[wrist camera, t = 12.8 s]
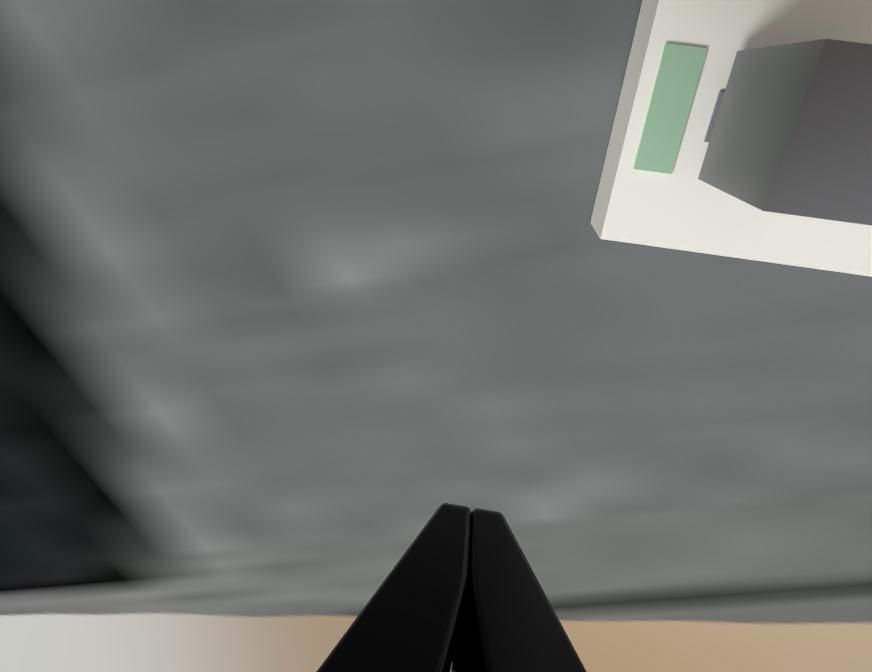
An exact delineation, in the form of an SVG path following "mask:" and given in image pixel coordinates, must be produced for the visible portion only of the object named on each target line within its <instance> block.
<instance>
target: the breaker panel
mask: <svg viewBox="0 0 872 672" xmlns="http://www.w3.org/2000/svg"><path fill="white" fill-rule="evenodd" d="M821 39H832V40H841V41H849V42H858V43H866V44H872V0H642V5H641V9H640V13H639V17H638V22H637V26H636V30H635V34H634V39H633V43H632V47H631V51H630V56H629V60H628V64H627V68H626V73H625V77H624V81H623V86H622V90H621V94H620V98H619V103H618V107H617V111H616V115H615V120H614V124H613V128H612V132H611V137H610V141H609V145H608V149H607V154H606V158H605V162H604V166H603V171H602V175H601V179H600V183H599V188H598V192H597V196H596V200H595V205H594V209H593V213H592V218H591V222H590V223H591V225H592V226H593V228H594V229H595V231H596V233H597V234H598V236H599V237H600V239H606V240H613V241H620V242H627V243H634V244H642V245H649V246H656V247H663V248H670V249H678V250H685V251H692V252H699V253H706V254H714V255H721V256H728V257H735V258H742V259H750V260H757V261H764V262H771V263H778V264H786V265H793V266H800V267H807V268H814V269H822V270H829V271H836V272H843V273H850V274H858V275H865V276H872V226H871V225H864V224H856V223H849V222H841V221H834V220H826V219H819V218H812V217H804V216H797V215H789V214H782V213H774V212H767V211H762V210H760V209H758V208H756V207H754V206H752V205H750V204H748V203H746V202H744V201H742V200H740V199H738V198H736V197H734V196H732V195H729V194H727V193H725V192H723V191H721V190H719V189H717V188H715V187H713V186H711V185H709V184H707V183H705V182H703V181H701V180H699V179H698V177H699V173H700V170H701V167H702V164H703V160H704V157H705V154H706V151H707V147H708V144H709V141H710V138H711V134H712V131H713V128H714V125H715V121H716V118H717V115H718V112H719V109H720V105H721V102H722V99H723V96H724V92H725V89H726V86H727V83H728V79H729V76H730V73H731V70H732V66H733V63H734V60H735V57H736V53H737V51H739V50H747V49H754V48H761V47H769V46H776V45H784V44H791V43H798V42H806V41H813V40H821Z"/></svg>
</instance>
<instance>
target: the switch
mask: <svg viewBox="0 0 872 672" xmlns="http://www.w3.org/2000/svg"><path fill="white" fill-rule="evenodd" d="M698 179H699V180H701V181H703V182H705V183H707V184H709V185H711V186H713V187H715V188H717V189H719V190H721V191H723V192H725V193H727V194H729V195H732V196H734V197H736V198H738V199H740V200H742V201H744V202H746V203H748V204H750V205H752V206H754V207H756V208H758V209H760V210H762V211H767V212H774V213H782V214H789V215H797V216H804V217H812V218H819V219H826V220H834V221H841V222H849V223H856V224H864V225H871V226H872V44H866V43H858V42H849V41H841V40H832V39H821V40H813V41H806V42H798V43H791V44H784V45H776V46H769V47H761V48H754V49H747V50H739V51H737V53H736V57H735V60H734V63H733V66H732V70H731V73H730V76H729V79H728V83H727V86H726V89H725V92H724V96H723V99H722V102H721V105H720V109H719V112H718V115H717V118H716V121H715V125H714V128H713V131H712V134H711V138H710V141H709V144H708V147H707V151H706V154H705V157H704V160H703V164H702V167H701V170H700V173H699V177H698Z"/></svg>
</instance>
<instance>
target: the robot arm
mask: <svg viewBox="0 0 872 672" xmlns="http://www.w3.org/2000/svg"><path fill="white" fill-rule="evenodd" d="M450 669H451V672H586V670H585V668H584V666H583V664H582V662H581V661H580V659H579V657H578V655H577V653H576V651H575V650H574V648H573V646H572V644H571V642H570V640H569V638H568V636H567V634H566V632H565V631H564V629H563V627H562V625H561V623H560V621H559V619H558V617H557V616H556V614H555V612H554V610H553V608H552V606H551V604H550V602H549V601H548V599H547V597H546V595H545V593H544V591H543V589H542V587H541V585H540V584H539V582H538V580H537V578H536V576H535V574H534V572H533V570H532V569H531V567H530V565H529V563H528V561H527V559H526V557H525V555H524V554H523V552H522V550H521V548H520V546H519V544H518V542H517V540H516V539H515V537H514V535H513V533H512V531H511V529H510V527H509V525H508V524H507V522H506V520H505V518H504V516H503V515H502V514H501V513H500V512H496V511H490V510H484V509H478V508H476V509H474V510H473V511H472V512H471V510H470V508H468V507H466V506H460V505H454V504H448V503H444V504H442V505H441V506H440V507H439V508H438V509H437V511H436V512H435V513H434V515H433V516H432V517H431V519H430V520H429V521H428V523H427V524H426V525H425V527H424V528H423V530H422V531H421V532H420V534H419V535H418V536H417V538H416V539H415V540H414V542H413V543H412V544H411V546H410V547H409V548H408V550H407V551H406V552H405V554H404V555H403V556H402V558H401V559H400V560H399V562H398V563H397V564H396V566H395V567H394V568H393V570H392V571H391V572H390V574H389V575H388V577H387V578H386V579H385V581H384V582H383V583H382V585H381V586H380V587H379V589H378V590H377V591H376V593H375V594H374V595H373V597H372V598H371V599H370V601H369V602H368V603H367V605H366V606H365V607H364V609H363V610H362V611H361V613H360V614H359V615H358V617H357V618H356V619H355V621H354V622H353V623H352V625H351V626H350V628H349V629H348V630H347V632H346V633H345V634H344V636H343V637H342V638H341V640H340V641H339V642H338V644H337V645H336V646H335V648H334V649H333V650H332V652H331V653H330V654H329V656H328V657H327V659H326V660H325V661H324V662H323V664H322V665H321V667H320V668H319V669H318V670H317V672H450Z"/></svg>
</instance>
